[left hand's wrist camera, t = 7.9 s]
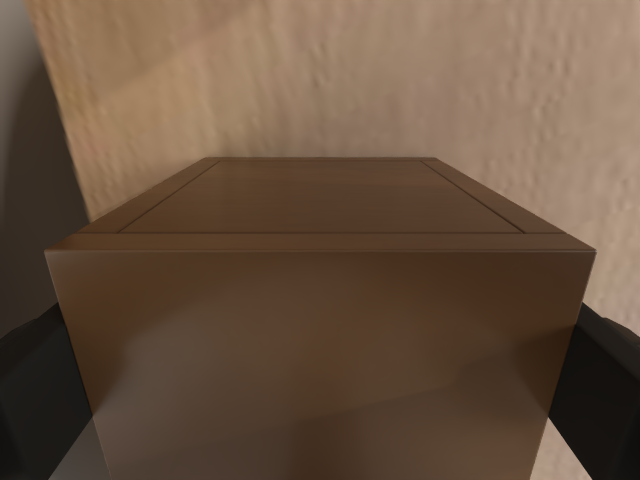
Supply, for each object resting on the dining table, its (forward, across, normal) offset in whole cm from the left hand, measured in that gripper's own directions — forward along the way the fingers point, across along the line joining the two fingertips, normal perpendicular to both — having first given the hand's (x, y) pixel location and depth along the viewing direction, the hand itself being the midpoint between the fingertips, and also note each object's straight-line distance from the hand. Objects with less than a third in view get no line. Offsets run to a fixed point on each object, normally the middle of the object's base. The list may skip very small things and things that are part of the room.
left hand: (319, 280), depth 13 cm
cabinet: (+7, 0, -6) cm, 9 cm away
